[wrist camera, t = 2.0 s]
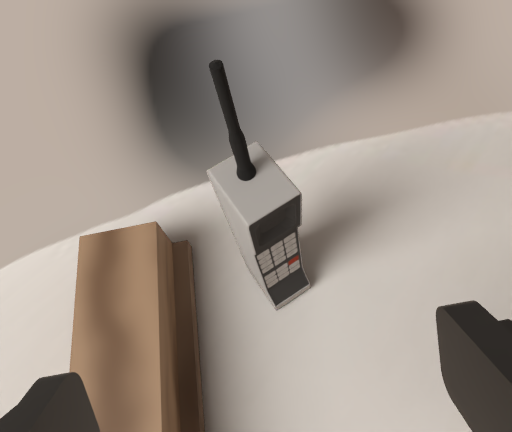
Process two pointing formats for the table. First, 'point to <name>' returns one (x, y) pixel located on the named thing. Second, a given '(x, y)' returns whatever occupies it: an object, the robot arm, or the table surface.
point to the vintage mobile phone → (259, 207)
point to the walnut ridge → (138, 331)
